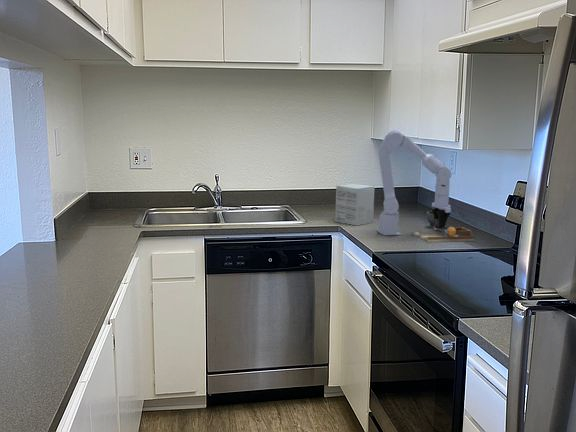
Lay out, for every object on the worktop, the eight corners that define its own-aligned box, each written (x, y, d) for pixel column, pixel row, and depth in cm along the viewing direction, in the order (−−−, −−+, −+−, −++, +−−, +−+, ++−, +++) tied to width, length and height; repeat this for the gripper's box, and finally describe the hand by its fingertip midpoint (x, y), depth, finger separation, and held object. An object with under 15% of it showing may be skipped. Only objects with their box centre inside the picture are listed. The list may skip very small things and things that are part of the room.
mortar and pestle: (441, 230, 258) (443, 204, 256) (422, 227, 264) (423, 201, 262) (452, 227, 267) (453, 201, 265) (433, 224, 273) (435, 199, 271)
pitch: (413, 234, 250) (413, 224, 249) (456, 233, 254) (456, 224, 253) (428, 242, 235) (428, 232, 234) (473, 241, 238) (474, 231, 237)
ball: (442, 230, 243) (450, 224, 243) (448, 237, 244) (455, 231, 244) (447, 232, 239) (454, 225, 239) (452, 239, 240) (459, 233, 240)
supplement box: (351, 218, 284) (353, 183, 281) (373, 222, 275) (375, 186, 272) (334, 221, 275) (335, 185, 272) (356, 226, 266) (357, 188, 263)
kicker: (432, 232, 249) (433, 218, 248) (440, 232, 249) (441, 218, 248) (442, 236, 240) (443, 222, 239) (449, 236, 240) (450, 222, 239)
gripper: (458, 197, 238) (456, 229, 240) (443, 192, 252) (441, 223, 254) (442, 197, 237) (440, 229, 239) (428, 192, 251) (426, 223, 253)
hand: (439, 226), depth 247 cm, fingers closed on kicker, 3 cm apart
